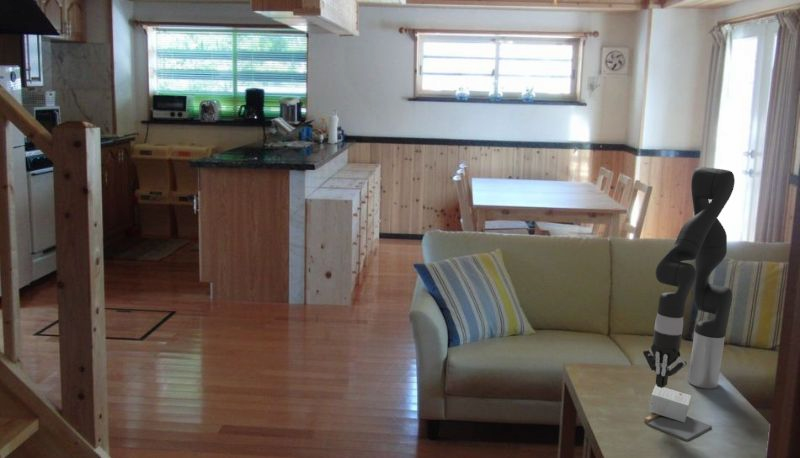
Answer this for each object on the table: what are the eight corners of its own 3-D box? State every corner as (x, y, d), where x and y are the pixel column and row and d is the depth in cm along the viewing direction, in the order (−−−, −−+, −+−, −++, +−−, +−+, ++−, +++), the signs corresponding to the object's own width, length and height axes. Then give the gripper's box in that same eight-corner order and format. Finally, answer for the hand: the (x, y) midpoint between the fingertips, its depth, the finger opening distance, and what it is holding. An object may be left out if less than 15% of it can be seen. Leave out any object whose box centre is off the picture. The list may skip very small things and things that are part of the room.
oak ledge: (666, 411, 227) (666, 407, 227) (669, 413, 226) (670, 409, 226) (644, 421, 219) (644, 418, 219) (648, 423, 218) (648, 419, 218)
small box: (647, 411, 223) (684, 423, 219) (651, 393, 221) (689, 405, 217) (651, 401, 230) (687, 412, 226) (655, 384, 228) (692, 395, 224)
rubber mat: (672, 412, 227) (673, 410, 226) (711, 427, 218) (711, 426, 218) (647, 424, 217) (647, 422, 217) (686, 441, 209) (687, 439, 209)
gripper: (696, 333, 215) (688, 391, 219) (654, 321, 225) (647, 376, 228) (683, 338, 210) (675, 397, 214) (640, 325, 220) (633, 381, 223)
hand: (660, 386), depth 221 cm, fingers closed
